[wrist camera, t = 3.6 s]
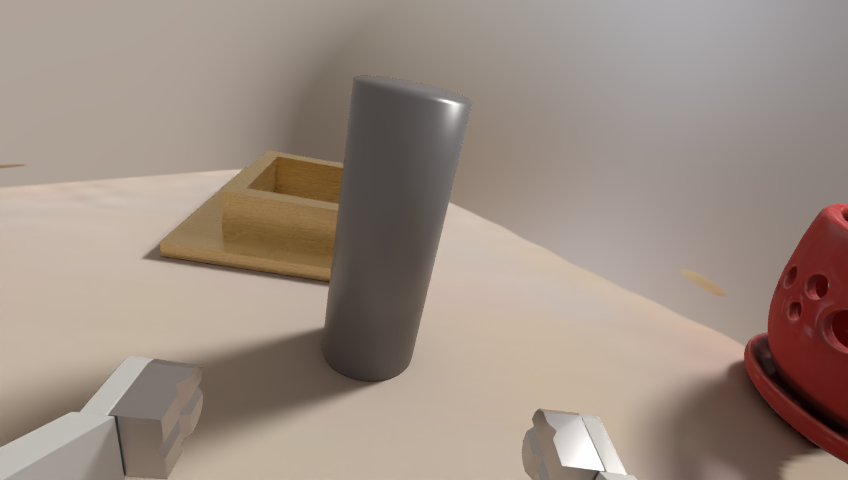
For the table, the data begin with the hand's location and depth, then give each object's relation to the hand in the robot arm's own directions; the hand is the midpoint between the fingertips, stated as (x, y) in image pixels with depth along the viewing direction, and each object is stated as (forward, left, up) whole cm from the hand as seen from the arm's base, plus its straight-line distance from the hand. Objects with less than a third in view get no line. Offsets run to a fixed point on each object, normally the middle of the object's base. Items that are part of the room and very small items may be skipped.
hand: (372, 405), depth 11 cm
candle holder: (-6, +25, -8) cm, 27 cm away
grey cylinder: (0, +11, -8) cm, 14 cm away
